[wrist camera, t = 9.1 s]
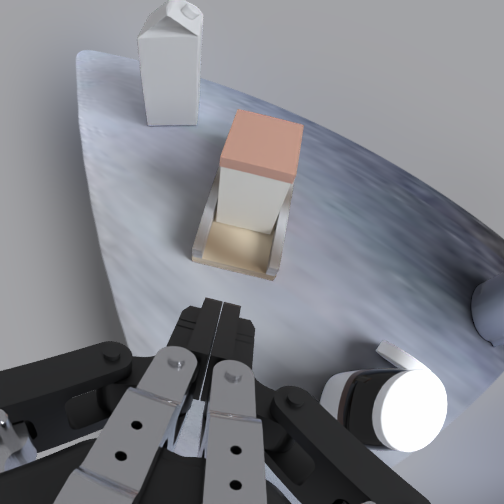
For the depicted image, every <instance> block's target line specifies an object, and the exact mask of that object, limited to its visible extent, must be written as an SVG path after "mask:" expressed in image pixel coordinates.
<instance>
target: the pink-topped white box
mask: <svg viewBox="0 0 504 504" xmlns="http://www.w3.org/2000/svg"><path fill="white" fill-rule="evenodd" d="M303 127H304V125H301V124H297V123H294V122H290V121H286V120H282V119H278V118H274V117H270V116H266V115H262V114H258V113H253V112H249V111H244V110H240V109H238V110H237V113H236V115H235V118H234V120H233V123H232V126H231V129H230V131H229V134H228V137H227V139H226V142H225V145H224V148H223V151H222V153H221V156H220V165H219V166H221V170H220V181H219V193H218V205H217V218H216V222H220V223H224V224H228V225H232V226H236V227H240V228H244V229H249V230H253V231H257V232H261V233H265V234H269V235H270V233H271V231H272V229H273V226H274V224H275V221H276V219H277V217H278V214H279V212H280V209H281V207H282V204H283V202H284V200H285V197H286V195H287V192H288V190H289V188H290V185H291V184H293V182H294V179H295V177H296V172H297V166H298V160H299V153H300V147H301V140H302V133H303Z"/></svg>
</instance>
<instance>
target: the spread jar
mask: <svg viewBox="0 0 504 504" xmlns="http://www.w3.org/2000/svg"><path fill="white" fill-rule="evenodd" d="M376 352H377V353H378V354H380V355H381V356H382V357H383V358H385V359H386V360H387V361H389V362H390V363H392V364H393V365H395V366H396V367H397V368H378V369H365V370H356V371H349V372H343V373H338V374H336V375H333V376H332V377H331V378H330V379H329V380H328V382H327V383H326V385H325V387H324V390H323V393H322V396H321V399H320V404H321V405H322V406H323V407H324V408H325V409H326V410H327V411H328V412H329V413H330V414H331V415H332V416H333V417H334V418H335V419H336V420H337V421H338V422H340V423H341V424H342V425H343V426H344V427H345V428H346V429H347V430H348V431H349V432H350V433H351V434H353V435H354V436H355V437H356V438H357V439H358V440H359V441H360V442H361V443H362V444H364V445H365V446H366V447H367V448H368V449H369V450H377V451H397V450H398V451H402V452H412V451H417V450H419V449H422V448H423V447H425V446H426V445H428V444H429V443H430V442H431V441H432V440H433V439H434V438H435V437H436V436H437V434H438V433H439V431H440V429H441V427H442V426H443V423H444V420H445V417H446V412H447V396H446V392H445V388H444V386H443V384H442V382H441V381H440V380H439V378H438V377H437V376H436V375H435V374H433V373H432V372H431V371H430V370H429V369H428V368H427V367H426V366H425V365H423V364H422V363H421V362H419V361H418V360H417V359H415V358H414V357H412V356H411V355H409V354H408V353H406V352H405V351H403V350H402V349H400V348H398V347H397V346H395V345H393V344H391V343H389V342H387V341H385V340H382V342H381V343H380V345H379V346H378V348H377V349H376Z"/></svg>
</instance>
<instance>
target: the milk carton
mask: <svg viewBox="0 0 504 504" xmlns="http://www.w3.org/2000/svg"><path fill="white" fill-rule="evenodd" d="M202 30H203V13H202V12H201V11H200V10H199V8H198V7H196V6H195V5H194V4H192V3H188V2H187V1H185V0H168V1H167V2H165V3H164V4H163V5H161V6H160V7H159V8H158V9H156V10H155V11H154V12H153V13H151V14H150V15H149V16H148V18H147V20H146V22H145V24H144V26H143V28H142V29H141V31H140V33H139V35H138V37H137V44H138V54H139V63H140V72H141V80H142V88H143V95H144V103H145V110H146V116H147V123H148V126H168V125H197V119H198V109H199V99H200V73H201V50H202Z"/></svg>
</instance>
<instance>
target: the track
mask: <svg viewBox="0 0 504 504" xmlns="http://www.w3.org/2000/svg"><path fill="white" fill-rule="evenodd" d="M219 165H220V164H219ZM220 170H221V166H219V167H218V170H217V173H216V176H215V179H214V182H213V185H212V188H211V191H210V194H209V197H208V200H207V203H206V206H205V209H204V212H203V215H202V218H201V221H200V225H199V228H198V231H197V234H196V237H195V241H194V244H193V247H192V261H193V262H197V263H201V264H205V265H209V266H213V267H217V268H221V269H225V270H229V271H234V272H238V273H242V274H246V275H250V276H254V277H259V278H263V279H267V280H271V281H273V280H274V279H275V277H276V274H277V272H278V270H279V267H280V261H281V256H282V250H283V244H284V239H285V233H286V227H287V221H288V216H289V210H290V204H291V198H292V192H293V186H294V182H293V184H291V185H290V188H289V190H288V192H287V195H286V197H285V200H284V202H283V204H282V207H281V209H280V212H279V214H278V217H277V219H276V221H275V224H274V226H273V229H272V231H271V233H270V235H269V234H265V233H261V232H257V231H253V230H249V229H244V228H240V227H236V226H232V225H228V224H224V223H220V222H216V218H217V205H218V193H219V181H220Z"/></svg>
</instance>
